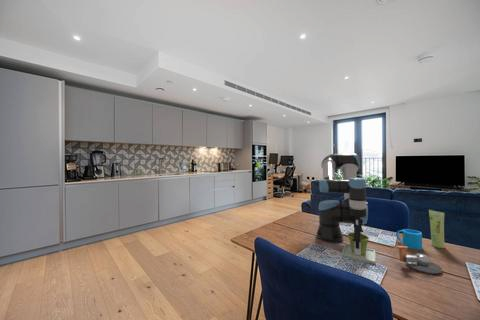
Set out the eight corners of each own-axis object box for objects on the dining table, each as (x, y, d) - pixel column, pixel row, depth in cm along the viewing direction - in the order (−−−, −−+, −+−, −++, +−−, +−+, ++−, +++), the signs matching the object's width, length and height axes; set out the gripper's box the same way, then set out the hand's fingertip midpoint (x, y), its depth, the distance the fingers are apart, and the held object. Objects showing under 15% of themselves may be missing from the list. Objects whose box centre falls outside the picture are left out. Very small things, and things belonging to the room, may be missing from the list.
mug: (425, 247, 105) (425, 232, 105) (417, 250, 102) (416, 235, 102) (400, 239, 116) (400, 226, 116) (392, 242, 113) (391, 228, 113)
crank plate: (407, 269, 85) (406, 265, 85) (403, 257, 95) (403, 254, 95) (445, 278, 78) (445, 274, 78) (437, 264, 88) (437, 261, 88)
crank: (423, 261, 89) (423, 245, 89) (432, 266, 84) (431, 249, 84) (395, 260, 90) (394, 244, 90) (401, 265, 86) (401, 248, 86)
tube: (430, 246, 107) (429, 211, 107) (429, 243, 110) (428, 209, 111) (445, 249, 103) (444, 212, 103) (443, 245, 107) (442, 210, 107)
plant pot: (362, 259, 93) (362, 241, 93) (344, 251, 101) (343, 234, 101) (373, 254, 97) (373, 237, 97) (355, 247, 106) (354, 231, 106)
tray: (341, 256, 97) (341, 253, 97) (345, 246, 109) (344, 243, 109) (375, 264, 89) (375, 261, 89) (375, 252, 101) (375, 249, 101)
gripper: (365, 214, 87) (366, 261, 87) (367, 204, 107) (367, 242, 107) (346, 212, 91) (347, 257, 91) (351, 202, 112) (352, 239, 112)
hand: (358, 249), depth 99 cm, fingers open, 13 cm apart
